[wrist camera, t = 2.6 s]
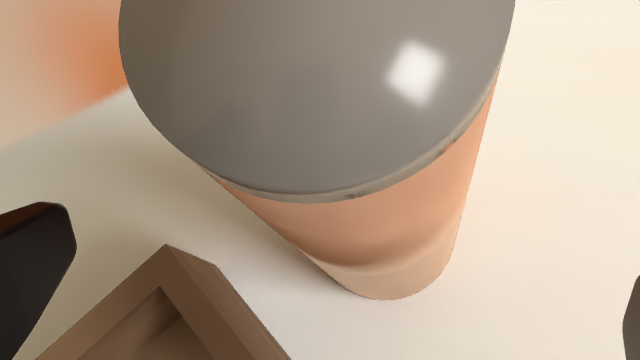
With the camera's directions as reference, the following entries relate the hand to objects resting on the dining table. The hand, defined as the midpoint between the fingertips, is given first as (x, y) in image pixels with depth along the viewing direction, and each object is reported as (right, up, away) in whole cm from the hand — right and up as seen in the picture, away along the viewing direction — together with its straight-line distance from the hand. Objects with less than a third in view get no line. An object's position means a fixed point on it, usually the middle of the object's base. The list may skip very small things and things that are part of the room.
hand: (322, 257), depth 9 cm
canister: (+2, 0, +10) cm, 10 cm away
